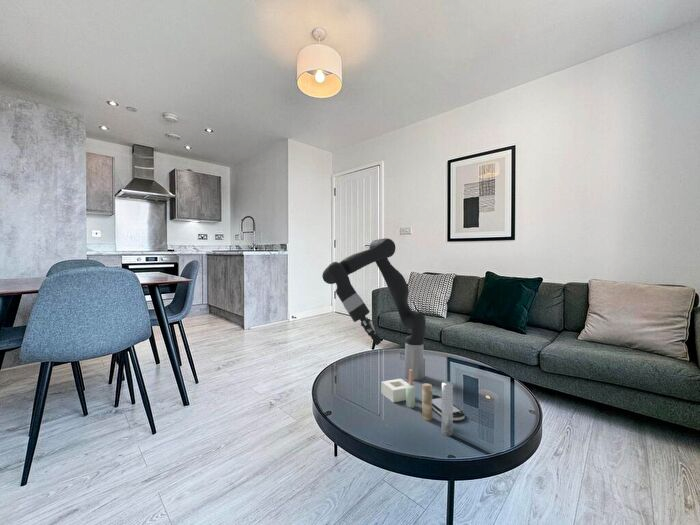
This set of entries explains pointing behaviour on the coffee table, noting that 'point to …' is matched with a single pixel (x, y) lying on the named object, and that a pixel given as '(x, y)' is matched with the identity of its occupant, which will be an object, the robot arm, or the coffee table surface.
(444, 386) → the aluminium pin
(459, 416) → the gaming console
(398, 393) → the socket block
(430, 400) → the birch pin
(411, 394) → the sage pin
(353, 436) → the coffee table surface
